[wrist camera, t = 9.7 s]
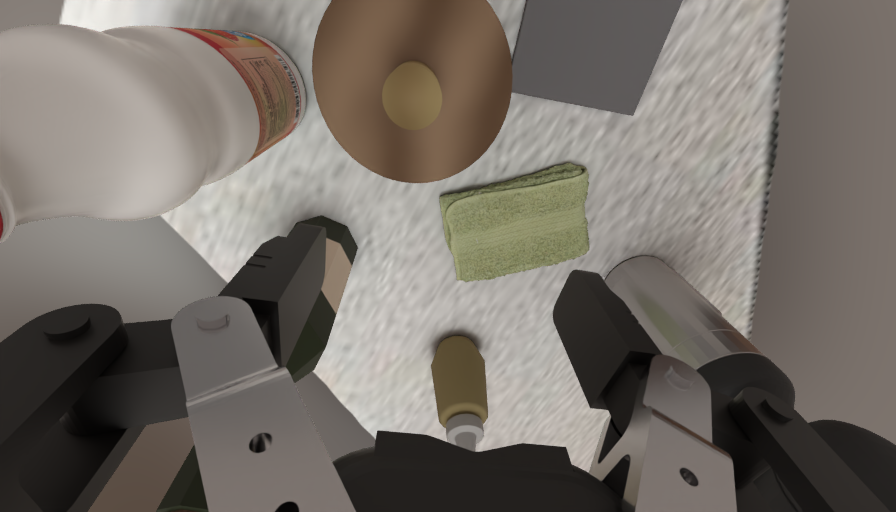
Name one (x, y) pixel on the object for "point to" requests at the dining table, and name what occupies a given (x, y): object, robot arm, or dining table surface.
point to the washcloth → (518, 223)
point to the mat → (590, 50)
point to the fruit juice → (133, 117)
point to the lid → (412, 83)
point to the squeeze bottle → (460, 391)
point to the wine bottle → (186, 494)
